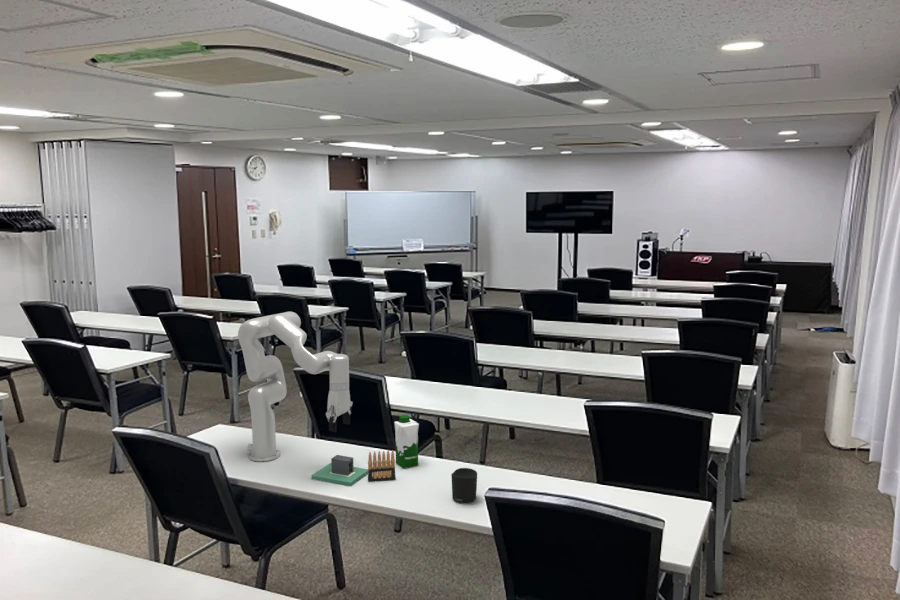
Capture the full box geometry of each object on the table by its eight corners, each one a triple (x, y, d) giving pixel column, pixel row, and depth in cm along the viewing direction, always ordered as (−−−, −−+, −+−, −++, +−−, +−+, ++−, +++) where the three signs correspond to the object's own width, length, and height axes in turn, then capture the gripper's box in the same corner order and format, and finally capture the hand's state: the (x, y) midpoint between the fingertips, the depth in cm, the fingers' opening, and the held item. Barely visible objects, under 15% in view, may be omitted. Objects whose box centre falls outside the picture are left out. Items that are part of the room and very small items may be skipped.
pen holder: (447, 496, 249) (447, 470, 247) (470, 491, 252) (470, 466, 251) (457, 506, 240) (457, 479, 239) (481, 501, 244) (481, 475, 242)
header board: (311, 478, 264) (310, 466, 263) (331, 466, 277) (330, 453, 276) (350, 486, 257) (350, 473, 256) (369, 473, 270) (368, 460, 269)
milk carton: (411, 458, 285) (411, 413, 282) (421, 466, 277) (421, 419, 274) (392, 462, 280) (392, 416, 278) (402, 470, 273) (401, 422, 270)
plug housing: (331, 472, 266) (331, 458, 265) (337, 469, 270) (337, 454, 269) (347, 475, 263) (347, 461, 262) (353, 472, 267) (353, 457, 266)
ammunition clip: (395, 478, 265) (394, 448, 263) (395, 480, 263) (395, 450, 261) (367, 480, 263) (367, 450, 261) (368, 482, 261) (367, 452, 259)
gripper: (343, 379, 273) (343, 419, 276) (318, 390, 258) (319, 432, 260) (359, 381, 270) (359, 422, 273) (335, 392, 255) (335, 435, 257)
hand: (339, 427), depth 267 cm, fingers open, 9 cm apart
